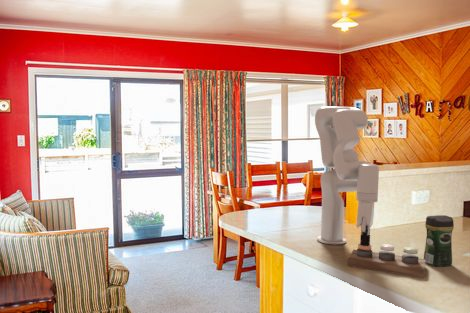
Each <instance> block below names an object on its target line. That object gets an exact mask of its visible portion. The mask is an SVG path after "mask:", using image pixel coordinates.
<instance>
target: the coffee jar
mask: <svg viewBox="0 0 470 313" xmlns="http://www.w3.org/2000/svg"><path fill="white" fill-rule="evenodd" d="M454 224H455V223H454V219H453V217H452V216H449V215H445V214H443V215H441V214H440V215H439V214H438V215H437V214H436V215H427V216H426V218H425V224H424V225H425V228H426V239H425V246H424V253H423V259H425V264H426V265H429V266H433V267H446V266H452V264H453V252H452V251H453V250H452V248H453V246H452V234H453V231H454V228H455V227H454Z"/></svg>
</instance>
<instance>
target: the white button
mask: <svg viewBox="0 0 470 313" xmlns="http://www.w3.org/2000/svg"><path fill="white" fill-rule="evenodd" d="M379 248H380V250H381V251H388V252H393V251H395V246H394V244H393V245H392V244H388V243H382V244H380V247H379Z"/></svg>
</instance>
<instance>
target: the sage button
mask: <svg viewBox="0 0 470 313" xmlns="http://www.w3.org/2000/svg"><path fill="white" fill-rule="evenodd" d="M418 252H419V250H418V249H417V248H415V247H413V246H412V247H411V246H404V247H403V253H404V254H410V255H418Z"/></svg>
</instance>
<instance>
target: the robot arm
mask: <svg viewBox="0 0 470 313" xmlns="http://www.w3.org/2000/svg"><path fill="white" fill-rule="evenodd" d="M314 124H315V129H316V132H317V134H318V136H319V137H318V138H319V141H320V142H319V143H320V153H321V154H320V155H321V161H322V164H323V166H324V167H325V168H330V169H331V168H332V170H325V171H324V172H323V173H322V174H321V175H320V186H321V197H322V198H321V220H320V222H321V224H320V235H318V236H317V237H316V238H317V239H316V240H317V241H318V242H320V243H322V244H326V245H334V246H335V245H344V244H345V243H346V242H347V238H346V237H344V218H345V217H344V214H345V212H344V211H345V202H344V201H345V200H344V199H343V197H342V196H341V195H340V193H346V192H347V193H348V192H349V193H351V192H353V193H354V192H356V201H357V202H358V205H357V212H356V213H357V214H356V227H357V229H358V228H360V242H359V244H360V245H363V246H369V245H371V228H372V226H373V225H374V216H375V215H374V214H375V203H377V202H378V198H379V176H380V168H379V165H377V164H375V163H371V162H369V161H362V160H361V161H359V155H358V154H359V153H358V152H357V150H356V149H355V147H356V146H357V145H359V143H360V141H361V137H360V134H359V131H358V130H363V129H365V128H366V127H367V126H368V116H367V113H366V112H365V111H364V110H363V109H360V108H357V107H353V106H335V105H334V106H330V105H329V106H328V105H327V106H321V107H319V108H318V109H317V110H316V111H315V115H314ZM332 126H333V127H332Z"/></svg>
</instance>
